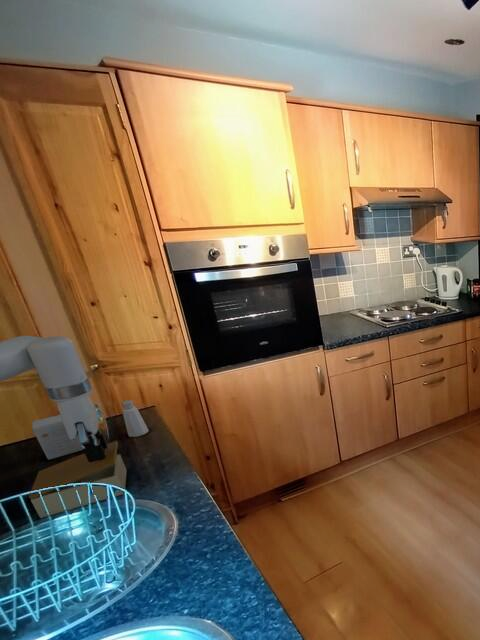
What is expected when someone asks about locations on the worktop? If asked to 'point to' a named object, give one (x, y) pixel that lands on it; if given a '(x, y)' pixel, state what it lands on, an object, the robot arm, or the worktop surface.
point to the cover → (73, 469)
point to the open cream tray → (83, 490)
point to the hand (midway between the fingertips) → (98, 454)
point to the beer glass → (102, 424)
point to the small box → (55, 437)
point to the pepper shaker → (133, 420)
